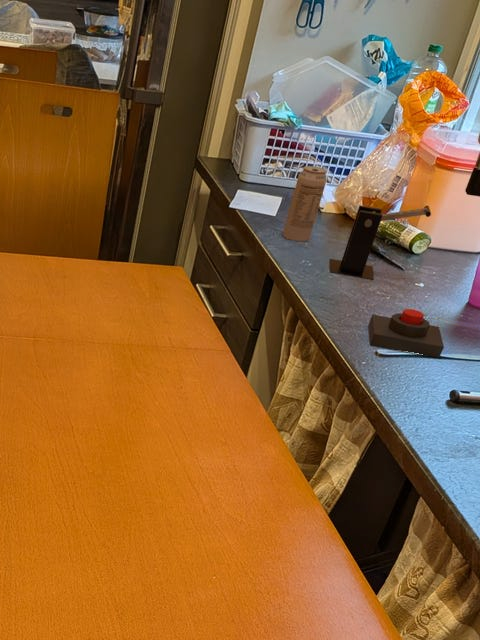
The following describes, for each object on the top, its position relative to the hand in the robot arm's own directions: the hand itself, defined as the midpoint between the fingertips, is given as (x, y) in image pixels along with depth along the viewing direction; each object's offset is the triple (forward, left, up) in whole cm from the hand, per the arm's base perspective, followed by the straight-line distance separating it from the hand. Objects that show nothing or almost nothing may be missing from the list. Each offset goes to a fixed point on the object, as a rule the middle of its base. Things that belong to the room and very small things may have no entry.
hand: (474, 194), depth 161 cm
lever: (+8, -22, -12) cm, 27 cm away
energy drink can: (+26, -39, -23) cm, 52 cm away
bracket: (+14, -22, -23) cm, 35 cm away
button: (+5, +12, -19) cm, 23 cm away
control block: (+5, +12, -23) cm, 26 cm away
